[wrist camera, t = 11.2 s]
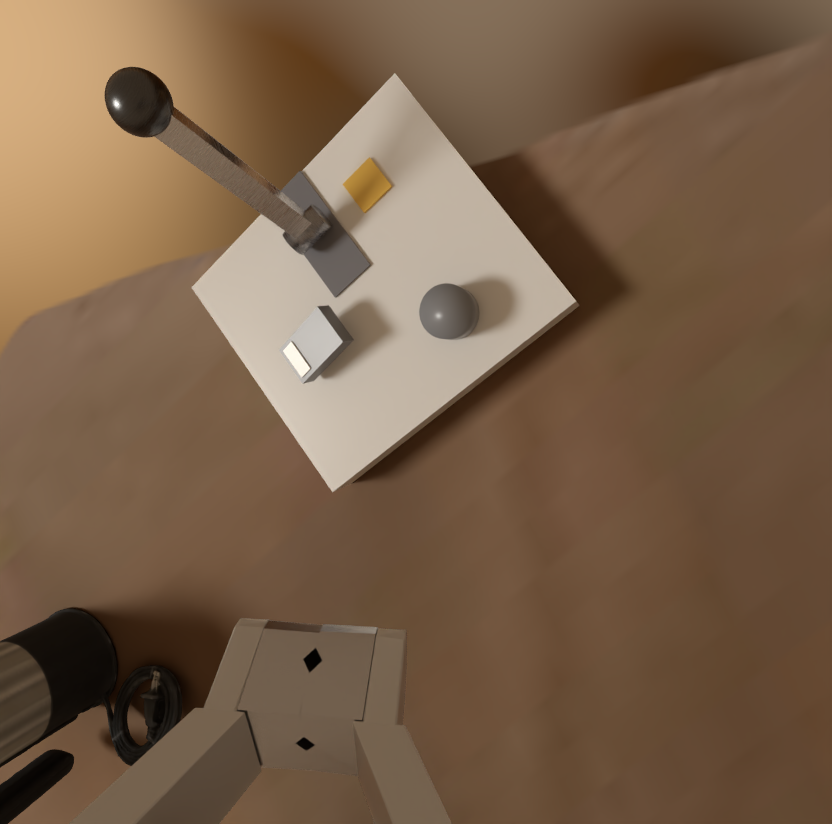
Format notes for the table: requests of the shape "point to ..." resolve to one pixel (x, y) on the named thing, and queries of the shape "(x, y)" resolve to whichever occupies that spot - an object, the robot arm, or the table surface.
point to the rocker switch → (316, 344)
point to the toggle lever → (206, 153)
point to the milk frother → (69, 700)
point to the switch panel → (381, 287)
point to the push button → (449, 312)
